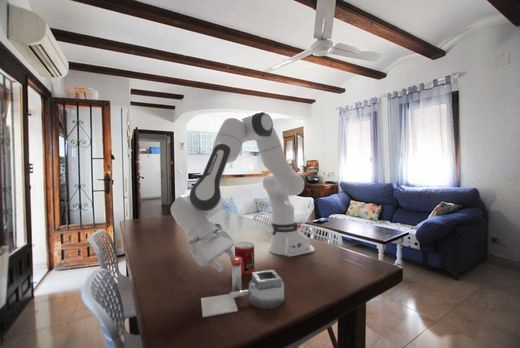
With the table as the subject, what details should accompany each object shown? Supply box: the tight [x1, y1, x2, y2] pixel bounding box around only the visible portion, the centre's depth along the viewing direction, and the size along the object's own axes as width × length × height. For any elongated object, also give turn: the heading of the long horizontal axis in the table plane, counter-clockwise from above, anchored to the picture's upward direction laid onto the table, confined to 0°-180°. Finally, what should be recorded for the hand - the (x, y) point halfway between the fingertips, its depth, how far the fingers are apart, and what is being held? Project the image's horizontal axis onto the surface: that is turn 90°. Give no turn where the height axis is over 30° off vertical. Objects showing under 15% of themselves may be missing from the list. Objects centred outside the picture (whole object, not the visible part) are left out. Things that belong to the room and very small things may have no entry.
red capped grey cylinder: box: [230, 257, 242, 292], centre depth 85 cm, size 4×4×11 cm
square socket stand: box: [229, 269, 285, 310], centre depth 78 cm, size 17×11×8 cm, turn 106°
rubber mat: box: [200, 293, 239, 318], centre depth 76 cm, size 10×10×1 cm
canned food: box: [234, 241, 255, 276], centre depth 101 cm, size 8×8×11 cm
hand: (229, 265), depth 85 cm, fingers open, 8 cm apart
